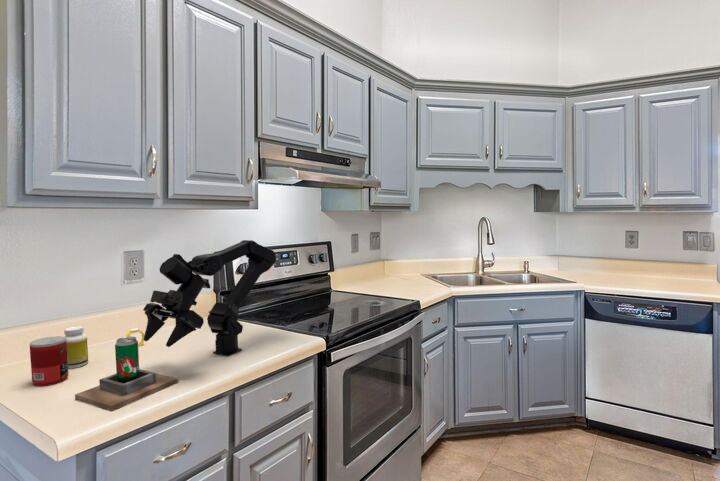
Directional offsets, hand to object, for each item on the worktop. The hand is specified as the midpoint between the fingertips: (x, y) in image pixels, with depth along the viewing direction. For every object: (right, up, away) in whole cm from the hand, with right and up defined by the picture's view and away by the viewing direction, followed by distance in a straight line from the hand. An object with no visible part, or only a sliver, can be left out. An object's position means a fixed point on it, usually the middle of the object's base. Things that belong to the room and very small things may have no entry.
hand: (155, 343), depth 117 cm
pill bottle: (-29, -9, +12) cm, 32 cm away
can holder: (-4, -10, -7) cm, 13 cm away
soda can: (-3, -9, -7) cm, 12 cm away
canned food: (-28, -10, 0) cm, 30 cm away
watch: (-20, -8, +28) cm, 36 cm away
